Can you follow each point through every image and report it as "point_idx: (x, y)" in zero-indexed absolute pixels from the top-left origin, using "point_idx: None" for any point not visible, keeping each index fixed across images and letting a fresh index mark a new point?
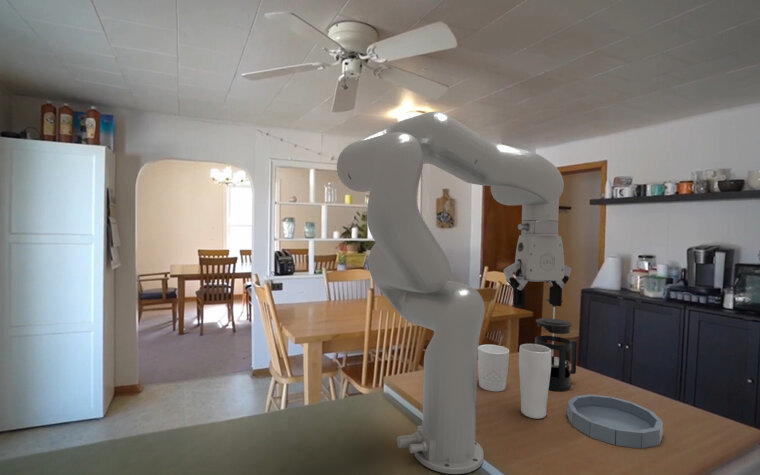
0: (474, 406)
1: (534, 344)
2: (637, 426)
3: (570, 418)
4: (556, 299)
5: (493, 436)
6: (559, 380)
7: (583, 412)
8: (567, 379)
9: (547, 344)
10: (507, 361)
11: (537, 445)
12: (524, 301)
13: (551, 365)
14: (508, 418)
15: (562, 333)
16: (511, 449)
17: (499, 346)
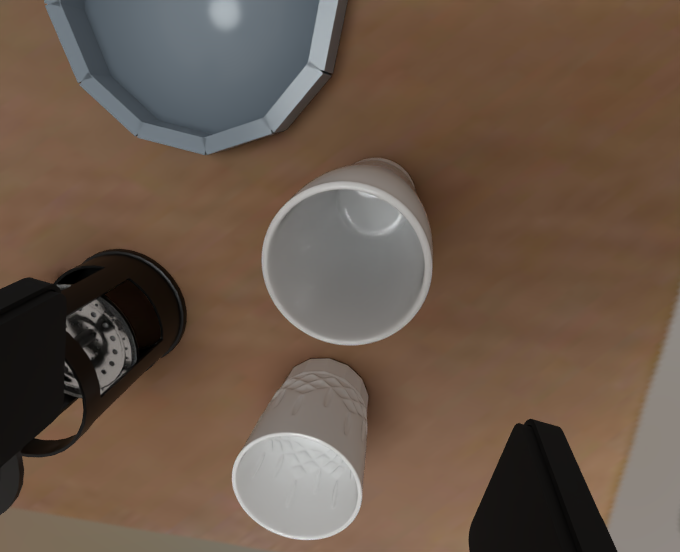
0: None
1: (287, 313)
2: None
3: (313, 94)
4: (14, 352)
5: (627, 163)
6: (130, 273)
7: (231, 100)
8: (96, 263)
9: (79, 372)
10: (281, 411)
11: (556, 46)
12: (551, 470)
13: (115, 319)
14: (475, 220)
15: None
16: (655, 73)
17: (240, 495)
